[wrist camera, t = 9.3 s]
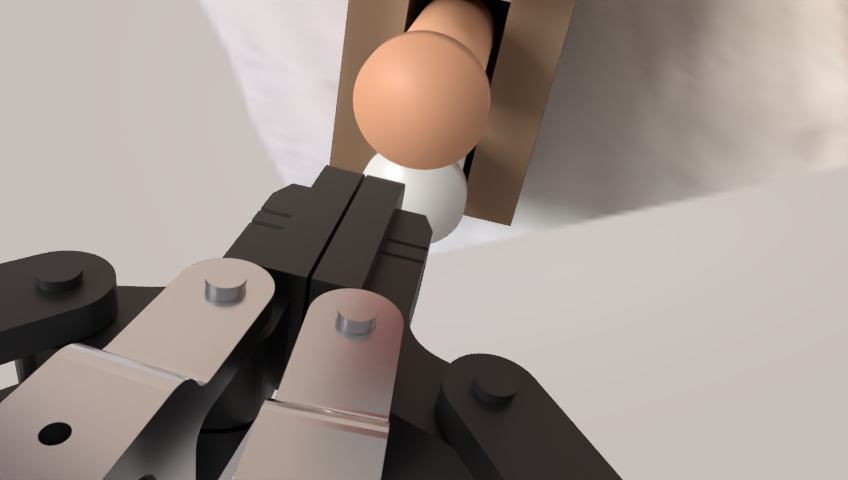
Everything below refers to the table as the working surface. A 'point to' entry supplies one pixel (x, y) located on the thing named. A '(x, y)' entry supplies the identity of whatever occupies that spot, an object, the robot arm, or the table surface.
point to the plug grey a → (428, 192)
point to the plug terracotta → (428, 87)
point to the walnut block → (509, 88)
